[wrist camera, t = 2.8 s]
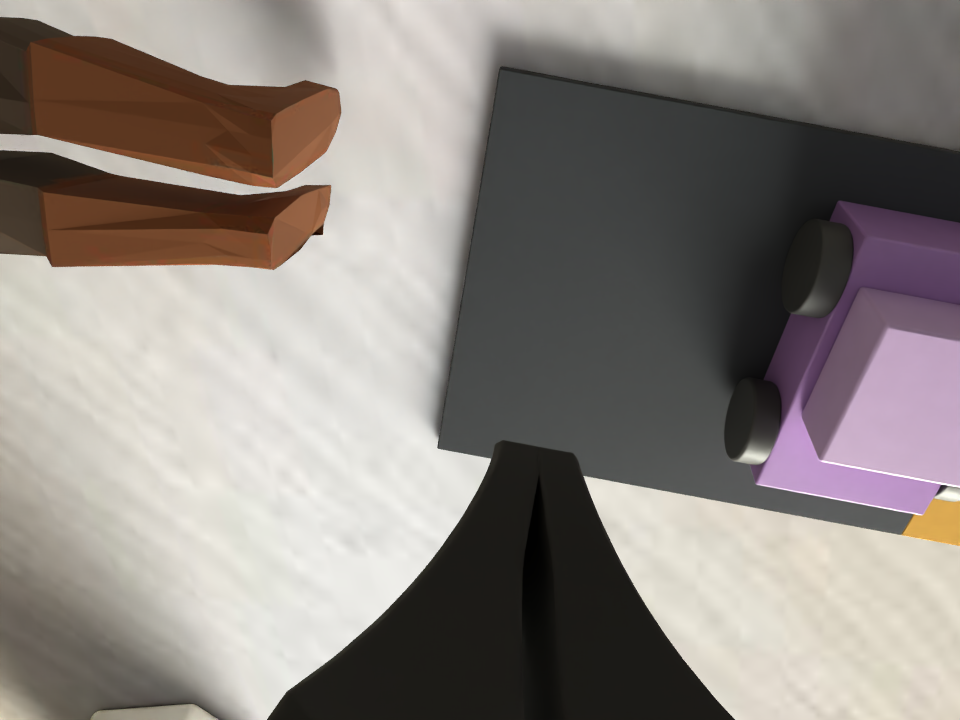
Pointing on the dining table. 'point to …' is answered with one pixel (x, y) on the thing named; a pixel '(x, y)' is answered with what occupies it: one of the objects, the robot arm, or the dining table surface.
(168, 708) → the jar
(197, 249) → the toy soldier
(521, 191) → the play mat
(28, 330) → the dining table surface
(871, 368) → the toy car
